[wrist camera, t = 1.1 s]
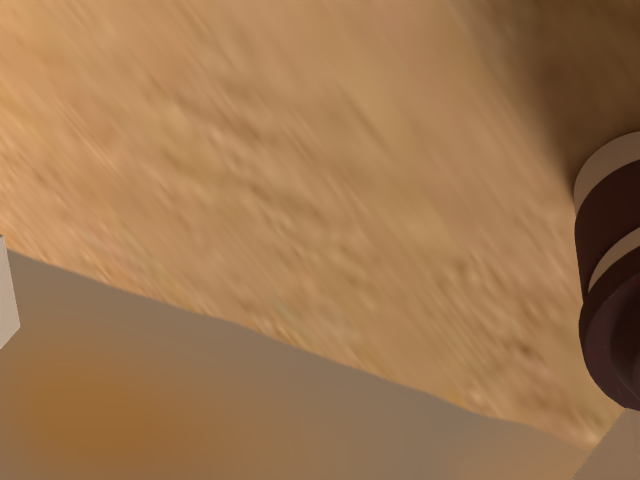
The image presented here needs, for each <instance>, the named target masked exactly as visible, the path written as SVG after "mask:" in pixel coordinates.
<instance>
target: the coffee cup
mask: <svg viewBox="0 0 640 480" xmlns="http://www.w3.org/2000/svg"><path fill="white" fill-rule="evenodd" d="M573 198H574V207H575V214H576V221H575V244H576V252H577V259H578V267H579V275H580V282H581V290H582V297H583V306H582V309H581V313H580V319H579V338H580V343H581V347H582V352H583V357H584V361H585V364H586V367H587V369H588V371H589V373H590V375H591V377H592V379H593V380H594V382H595V383H596V384H597V385H598V387H599V388H600V389H601V390H602V391H603V392H604V393H605V394H606V395H607V396H608V397H610V398H611V399H612V400H614V401H615V402H617V403H618V404H619V405H621V406H623V407H624V408H629V409H633V410H636V411H640V131H638V132H634V133H629V134H626V135H623V136H620V137H618V138H616V139H614V140H612V141H610V142H608V143H607V144H605V145H603V146H602V147H601V148H599V149H598V150H597V151H596V152H595V153H593V154H592V155H591V156H590V158H589V159H588V160H587V161H586V162H585V164H584V165H583V167H582V168H581V170H580V172H579V174H578V176H577V179H576V182H575V186H574V194H573Z"/></svg>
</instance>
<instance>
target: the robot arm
mask: <svg viewBox="0 0 640 480" xmlns="http://www.w3.org/2000/svg"><path fill="white" fill-rule="evenodd" d="M19 328H20V322H19V317H18V311H17V306H16V300H15V295H14V289H13V284H12V278H11V273H10V268H9V263H8V257H7V251H6V246H5V240H4V235H1V234H0V349H1V348H2V347H3V346H4V345H5V344H6V342H7V341H8V340H9V339H10V338H11V337H12V336H13V335H14V333H15V332H16V331H17V330H18V329H19ZM571 480H640V411H636V410H633V409H629V408H626V409H625V410H624V412H623V413H622V414H621V416H620V417H619V418H618V419H617V421H616V422H615V423H614V424H613V426H612V427H611V428H610V430H609V431H608V432H607V433H606V435H605V436H604V437H603V439H602V440H601V441H600V442H599V444H598V445H597V446H596V448H595V449H594V450H593V451H592V453H591V454H590V455H589V457H588V458H587V459H586V461H585V462H584V463H583V464H582V466H581V467H580V468H579V469H578V471H577V472H576V474H574V476H573V477H572V478H571Z"/></svg>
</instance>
